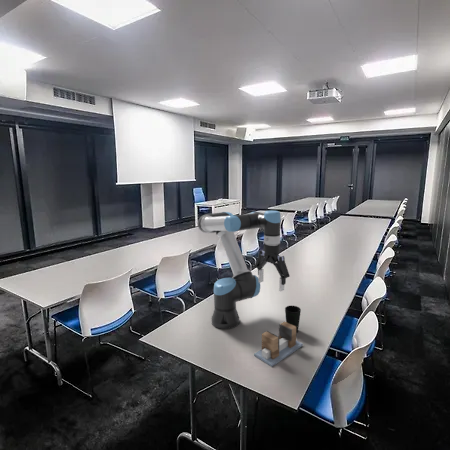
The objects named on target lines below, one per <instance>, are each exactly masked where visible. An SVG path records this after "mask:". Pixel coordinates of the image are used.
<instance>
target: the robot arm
mask: <svg viewBox="0 0 450 450" xmlns="http://www.w3.org/2000/svg"><path fill="white" fill-rule="evenodd" d="M281 216H282V215H281V212H280V211H278V210H266V211H264V212H263V213H262V212H259V211H251V212H250V213H245V214H243V213H242V214H233V213H232V212H230V211H222V212H212V213H205V214H203V215H201V216H200V217H199V219H198V221H197V228H198V230H199V231H200V232H202V233H205V234H214V233H215V235H216V237H217V238H219V239H220V241H221V244H222V246H223V249H224V252H225V255H226V258H227V261H228V263H229V266H230V268H231V271H232V274H233V275H232V277H223V278H220V279H218V280H216V281H215V282H214V285H213V301H214V303H213V304H214V308H213V309H214V310H213V313H212V315H211V325H212V327H213V326H214V327H215V328H216V329H217V328H218V329H220V330H221V329H222V330H228V329H233V328H236V327H237V326H238V325H240V315H239V312H238V311H237V303H238V302H241V301H244V300H248V299H252V298H254V297H258V295H259V294H260V292H261V283H263V282H264V266H265V265H266V264H267V263H269V264H271V265H273V266H274V267H275V268H276V271H277V272H278V274H279V276H280V277H279V284H278V285H279V286H278V287H279V288H278V291H279V292H283V291H285V285H286V279H287V278H289V277H291V276H290V272H289V270H288V266H287V264H286V261H285V256H284V255H279V254H280V251H281V224H282V223H281V221H282V219H281ZM255 229H261V230H263V243H264V244H263V250H259V253H258V257H257V259H256V261H255V263H254V268H257V275H258V276H257V275H255V274H253V273H252V270H250V269H248V267H247V264H246V261H245V259H244V256H243V253H242V251H241V248H240V246H239V243H238V240H237V238H236V235H235V232H241V231H245V230H247V231H248V230H255Z"/></svg>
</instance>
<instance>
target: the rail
mask: <svg viewBox="0 0 450 450" xmlns="http://www.w3.org/2000/svg"><path fill="white" fill-rule="evenodd" d="M288 341H289V340H287V339H285V338H281V339H279V356H278V357H276V358H275V359H271V351H270V350H269V349H267V348H264V349H263V350H262V348H261V349H260V350H258V351H256V352H255V353H254V357H255V358H257V359H259V360H261V361H262V362H264V363H265V364H266V365H268V366H270V367H273V366H276V365H277V364H278V363H279V362H281V361H283V360H284V359H286V358H288V357H289V356H290V355H291V354H292V353H294V352H295V351H297V350H299V349H300V348H301V347H303V345H304V344H303V342H300V341H298V340H296V345H295V346H293V347H292V348H289V347H288Z"/></svg>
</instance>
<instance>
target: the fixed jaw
mask: <svg viewBox="0 0 450 450" xmlns="http://www.w3.org/2000/svg"><path fill="white" fill-rule="evenodd" d="M278 332H279V333H278V336H279V339H281V338H285V339H287V340H289V341H288V347H289V348H292V347H293V346H295V345H296V341H297V333H296V326H293V325H291V324H289V323H287V322H286V321H282V322H281V323H279V327H278Z"/></svg>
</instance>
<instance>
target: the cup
mask: <svg viewBox="0 0 450 450" xmlns="http://www.w3.org/2000/svg"><path fill="white" fill-rule="evenodd" d="M284 311H285V322H287V323H289V324H291V325H293V326H296V334H298V333H299V326H300V321H301V319H300V318H301V311H302V310H301V308H300V307H299V306H297V305H287V306H285V308H284Z"/></svg>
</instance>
